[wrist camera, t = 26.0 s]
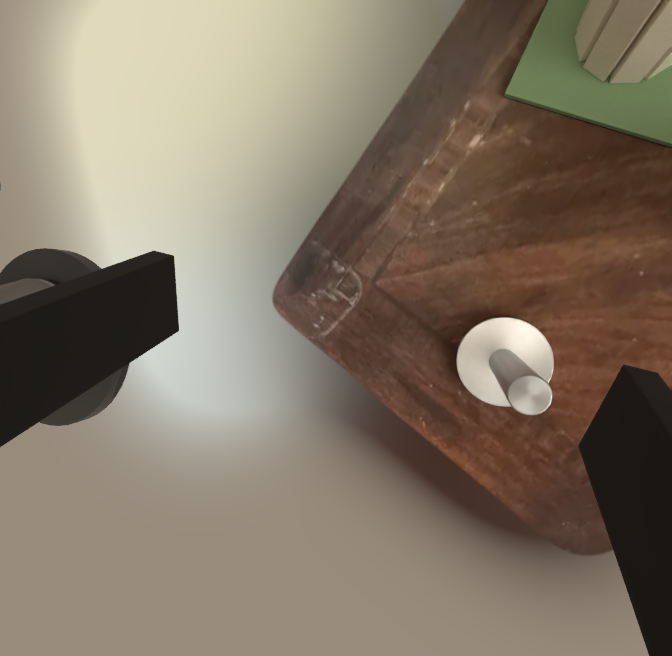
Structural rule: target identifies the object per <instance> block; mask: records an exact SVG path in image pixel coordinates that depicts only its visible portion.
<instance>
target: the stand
mask: <svg viewBox="0 0 672 656" xmlns="http://www.w3.org/2000/svg"><path fill="white" fill-rule="evenodd" d="M456 366H457V371H458V375H459V377H460V380H461V382H462V383H463V385H464V386H465V388H466V389H467V390H468V391H469V392H470V393H471V394H472V395H473V396H475V397H476V398H477V399H479V400H481V401H483V402H485V403H488V404H491V405H494V406H501V407H510V406H512V408H513V409H514V410H516V411H517V412H519V413H521V414H524V415H537V414H540V413H542V412H544V411H545V410H546V409H547V408H548V407H549V405H550V404H551V401H552V390H551V388H550V386H549V384H548V383H549V381H550V379H551V376H552V373H553V368H554V357H553V352H552V349H551V346H550V344H549V342H548V340H547V339H546V337H545V336H544V335H543V334H542V333H541V331H539V330H538V329H537V328H536V327H534V326H533V325H532V324H530V323H528V322H526V321H523V320H520V319H517V318H513V317H507V316H498V317H491V318H488V319H485V320H482V321H480V322H478V323H477V324H475V325H474V326H472V327H471V328H470V329H469V330H468V331H467V332H466V333H465V334H464V336H463V337H462V339H461V341H460V343H459V345H458V349H457V353H456Z"/></svg>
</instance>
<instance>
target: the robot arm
mask: <svg viewBox="0 0 672 656" xmlns="http://www.w3.org/2000/svg"><path fill="white" fill-rule="evenodd" d="M0 189H1V185H0ZM174 266H175V265H174V256H173V255H169V254H165V253H161V252H156V251H152V252H149V253H146V254H143V255H140V256H138V257H135V258H132V259H129V260H126V261H123V262H121V263H117V264H115V265H112V266H109V267H106V268H103V269H100V270H97V271H95V272H92V273H89V274H86V275H83V276H80V277H77V278H75V279H72V280H69V281H66V282H63V283H59V282H56V281H54V280H49V279H32V278H28V279H21V280H18V281H15V282H11V283H7V284H3V285H0V447H1V446H2V445H4V444H6V443H7V442H9V441H10V440H12V439H13V438H15V437H16V436H18V435H19V434H21V433H22V432H24V431H25V430H27V429H29V428H30V427H32V426H33V425H35V424H36V423H38V422H39V421H41V420H43V419H44V418H46V417H47V416H49V415H50V414H52V413H53V412H55V411H56V410H58V409H59V408H61V407H63V406H64V405H66V404H67V403H69V402H70V401H72V400H73V399H75V398H76V397H78V396H79V395H81V394H82V393H84V392H86V391H87V390H89V389H90V388H92V387H93V386H95V385H96V384H98V383H99V382H101V381H102V380H104V379H106V378H107V377H109V376H110V375H112V374H113V373H115V372H116V371H118V370H119V369H121V368H122V367H124V366H126V365H127V364H129V363H130V362H132V361H133V360H135V359H136V358H138V357H139V356H141V355H142V354H144V353H145V352H147V351H148V350H150V349H151V348H153V347H155V346H156V345H158V344H159V343H161V342H162V341H164V340H165V339H167V338H169V337H170V336H172V335H173V334H175V333H176V332H178V331H179V324H178V310H177V295H176V283H175V281H176V280H175V267H174ZM579 449H580V452H581V455H582V458H583V461H584V464H585V467H586V470H587V473H588V476H589V479H590V482H591V485H592V488H593V491H594V494H595V497H596V500H597V502H598V505H599V508H600V511H601V514H602V517H603V520H604V523H605V526H606V529H607V532H608V535H609V538H610V541H611V544H612V547H613V550H614V553H615V556H616V559H617V562H618V565H619V567H620V570H621V573H622V576H623V579H624V582H625V585H626V588H627V591H628V594H629V597H630V600H631V603H632V606H633V609H634V612H635V615H636V618H637V621H638V624H639V626H640V630H641V632H642V635H643V638H644V641H645V644H646V647H647V650H648V653H649V656H672V391H671V390H670V388H669V387H668V386H667V384H666V383H665V382H664V381H663V379H662V378H661V377H660V375H659V374H658V373H656V372H652V371H648V370H643V369H639V368H635V367H631V366H627V365H623V366H622V368H621V370H620V372H619V373H618V375H617V377H616V379H615V381H614V382H613V384H612V386H611V388H610V390H609V391H608V393H607V395H606V397H605V399H604V401H603V402H602V404H601V406H600V408H599V410H598V411H597V413H596V415H595V417H594V419H593V420H592V422H591V424H590V426H589V428H588V429H587V431H586V433H585V435H584V437H583V438H582V440H581V442H580V444H579Z"/></svg>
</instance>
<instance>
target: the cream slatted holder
mask: <svg viewBox="0 0 672 656" xmlns="http://www.w3.org/2000/svg"><path fill="white" fill-rule="evenodd" d="M576 31H577V33H576V35H575V37H574V38H575V43H576V48H577V54H578V59H579V62H582V61H585V60H586V62H585V64H584V65H583V68H584V69H586V70H587V71H589V72H590V73H591V74H593V75H594V76H596V77H597V78H598V79H600V80H601V81H605V80H606V79H607V77H608V76H609V75H610V74H611V77H610V84H618V83H639V82H640V81H641V80H642V79H643V78H645V79H646V80H648V79H650V78H652V77H653V76H655V75H656V74H658V73H660V72H661V71H663V70H664V69H666V68H668V67H669V66H671V65H672V0H589V2H588V4H587V6H586V8H585V11H584V13H583V15H582V17H581V19H580V22H579V24H578V26H577V28H576Z"/></svg>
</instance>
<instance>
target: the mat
mask: <svg viewBox="0 0 672 656" xmlns="http://www.w3.org/2000/svg"><path fill="white" fill-rule="evenodd" d="M588 2H589V0H548V2H547V4H546V6H545V8H544V10H543V12H542V14H541V17H540V19H539V21H538V23H537V25H536V27H535V29H534V32H533V34H532V36H531V38H530V40H529V42H528V44H527V47H526V49H525V51H524V53H523V55H522V57H521V59H520V62H519V64H518V66H517V68H516V70H515V72H514V74H513V77H512V79H511V81H510V83H509V85H508V87H507V89H506V92H505V94H504V97H507V98H510V99H514V100H517V101H520V102H523V103H527V104H530V105H533V106H537V107H540V108H543V109H546V110H550V111H553V112H556V113H560V114H563V115H566V116H569V117H573V118H576V119H579V120H583V121H586V122H589V123H593V124H596V125H599V126H602V127H606V128H609V129H612V130H616V131H619V132H622V133H625V134H629V135H632V136H635V137H639V138H642V139H645V140H648V141H652V142H655V143H658V144H662V145H665V146H668V147H672V65H671V66H669V67H668V68H666V69H664V70H663V71H661V72H660V73H658V74H656V75H655V76H653V77H652V78H650V79H648V80H646V79H645V78H643V79H642V80H641V81H640V82H639V83H618V84H610V77H611V74H610V75H609V76H608V77H607V79H606V80H605V81H601V80H600V79H598V78H597V77H596V76H594V75H593V74H591V73H590V72H589V71H587V70H586V69H584V68H583V65H584V64H585V62H586V60H585V61H582V62H579V59H578V54H577V48H576V43H575V38H574V37H575V35H576V33H577V31H576V28H577V26H578V24H579V22H580V19H581V17H582V15H583V13H584V11H585V8H586V6H587V4H588Z"/></svg>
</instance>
